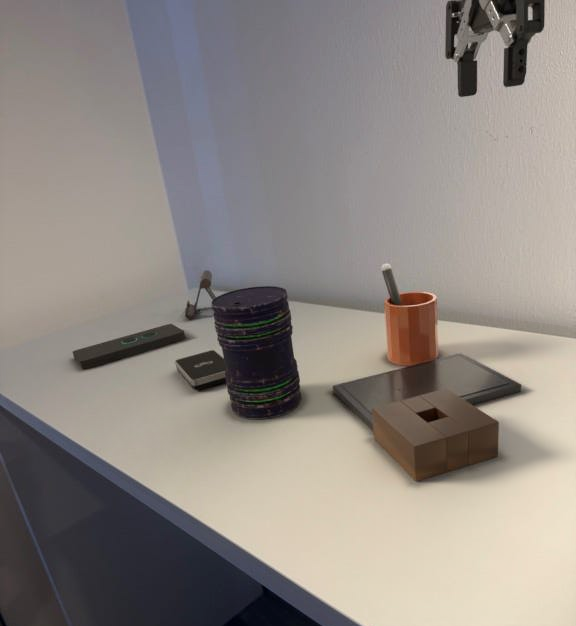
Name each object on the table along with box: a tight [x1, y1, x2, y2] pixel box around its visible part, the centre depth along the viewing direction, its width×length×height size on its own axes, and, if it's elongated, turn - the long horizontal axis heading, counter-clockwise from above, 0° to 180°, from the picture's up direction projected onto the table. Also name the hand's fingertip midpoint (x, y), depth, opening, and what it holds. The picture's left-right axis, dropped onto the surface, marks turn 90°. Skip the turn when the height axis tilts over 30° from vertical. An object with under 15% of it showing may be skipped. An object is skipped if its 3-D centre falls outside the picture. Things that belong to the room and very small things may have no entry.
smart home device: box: [72, 323, 186, 370], centre depth 104 cm, size 8×2×20 cm
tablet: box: [332, 352, 522, 433], centre depth 70 cm, size 20×13×1 cm, turn 107°
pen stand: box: [372, 388, 500, 482], centre depth 57 cm, size 9×9×4 cm
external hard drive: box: [174, 349, 227, 391], centre depth 86 cm, size 7×11×2 cm, turn 25°
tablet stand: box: [184, 270, 217, 321], centre depth 119 cm, size 9×8×8 cm
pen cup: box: [383, 291, 439, 367], centre depth 80 cm, size 7×7×9 cm
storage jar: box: [210, 285, 302, 420], centre depth 71 cm, size 10×10×15 cm
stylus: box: [380, 263, 403, 306], centre depth 80 cm, size 1×1×14 cm
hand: (489, 91), depth 63 cm, fingers open, 8 cm apart
